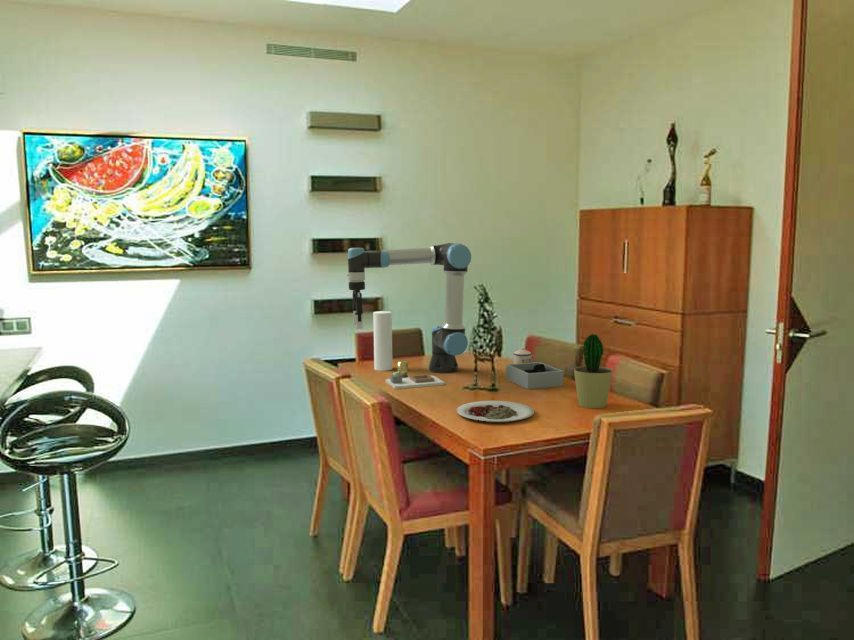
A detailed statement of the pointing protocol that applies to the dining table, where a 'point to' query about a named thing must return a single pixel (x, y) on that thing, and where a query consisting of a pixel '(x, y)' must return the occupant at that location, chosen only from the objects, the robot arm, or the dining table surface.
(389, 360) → the cylinder container
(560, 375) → the parts tote
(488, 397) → the dining table surface
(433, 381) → the pallet board
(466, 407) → the plated food
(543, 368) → the film camera
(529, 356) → the teacup with lid
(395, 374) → the button
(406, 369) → the billet
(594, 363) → the potted cactus
